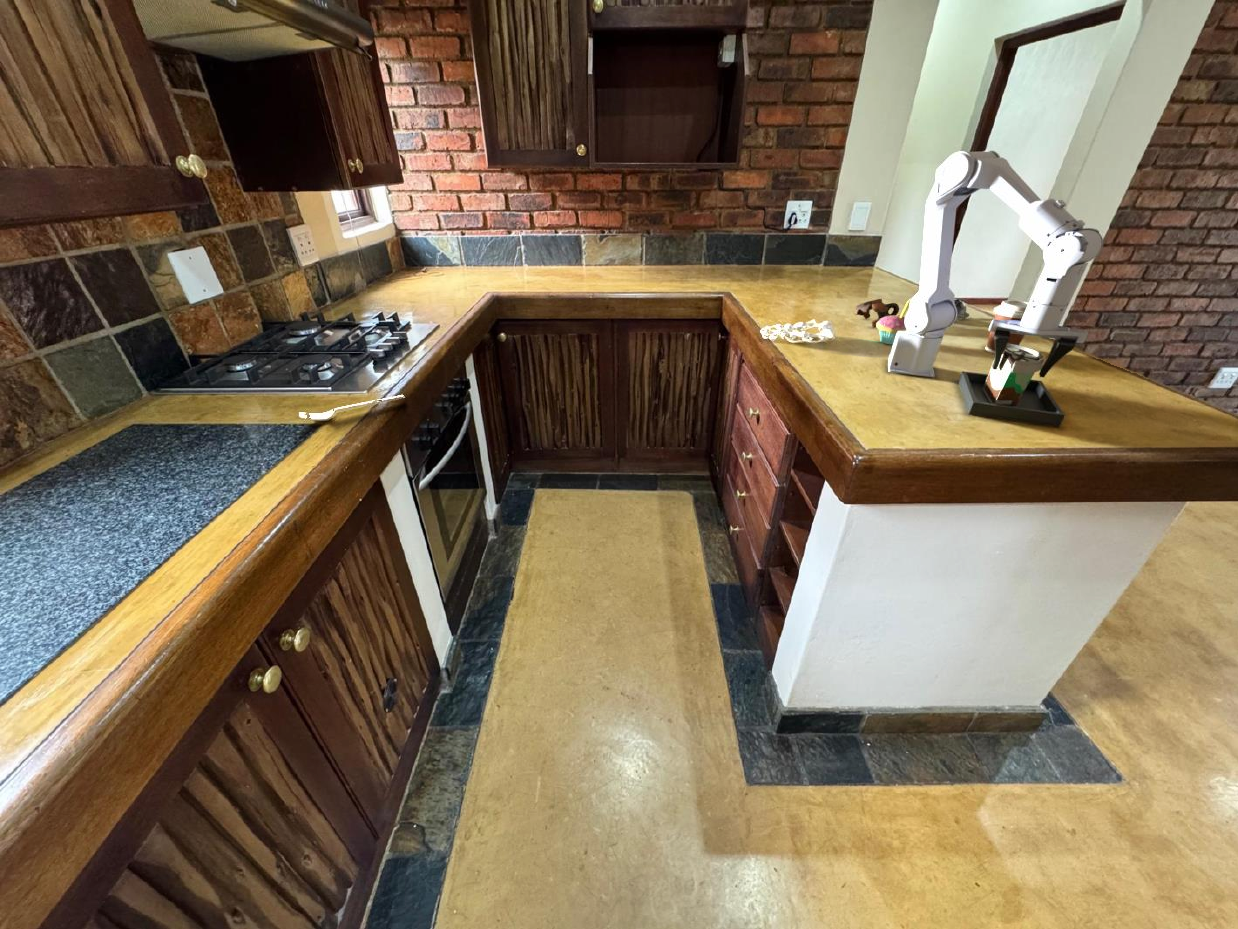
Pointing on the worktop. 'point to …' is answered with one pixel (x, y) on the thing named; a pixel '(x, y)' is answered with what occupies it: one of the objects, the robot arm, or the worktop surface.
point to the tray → (1029, 409)
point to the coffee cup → (1008, 312)
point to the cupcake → (891, 326)
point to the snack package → (961, 309)
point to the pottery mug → (876, 310)
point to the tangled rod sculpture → (804, 336)
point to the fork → (332, 413)
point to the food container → (1012, 375)
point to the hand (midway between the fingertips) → (1017, 371)
